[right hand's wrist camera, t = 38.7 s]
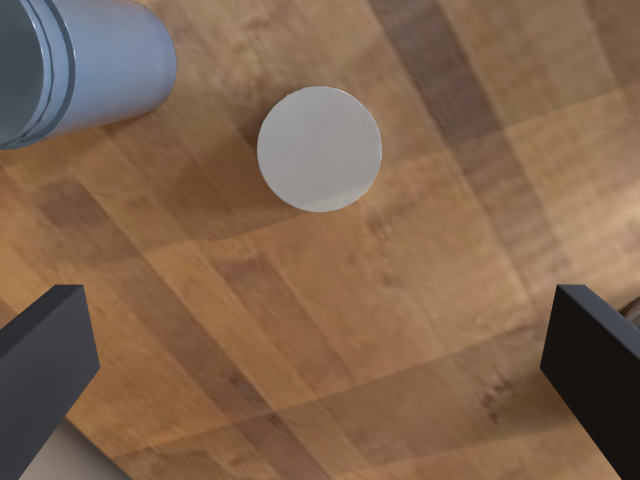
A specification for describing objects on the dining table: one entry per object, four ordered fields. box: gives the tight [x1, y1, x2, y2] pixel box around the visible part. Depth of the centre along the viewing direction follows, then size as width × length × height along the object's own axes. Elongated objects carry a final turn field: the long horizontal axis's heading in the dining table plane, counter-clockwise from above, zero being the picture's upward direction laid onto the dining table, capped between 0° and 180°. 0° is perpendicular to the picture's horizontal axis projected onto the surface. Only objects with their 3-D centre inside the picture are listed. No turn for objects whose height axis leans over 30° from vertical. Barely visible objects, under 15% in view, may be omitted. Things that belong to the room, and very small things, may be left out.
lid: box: [257, 85, 382, 212], centre depth 40 cm, size 11×11×2 cm
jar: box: [0, 0, 177, 150], centre depth 29 cm, size 10×10×19 cm
